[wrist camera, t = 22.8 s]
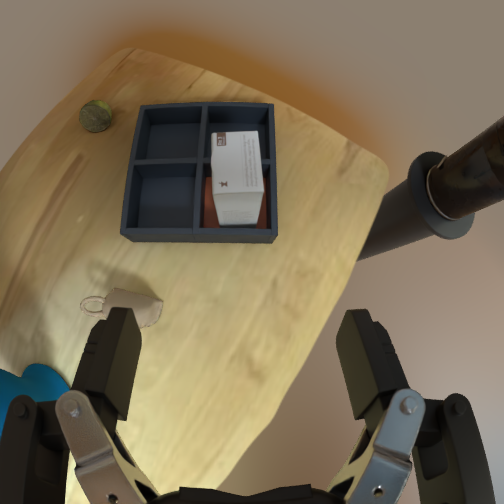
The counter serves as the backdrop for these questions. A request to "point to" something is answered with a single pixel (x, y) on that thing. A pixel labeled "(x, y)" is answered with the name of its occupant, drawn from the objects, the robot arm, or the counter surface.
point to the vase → (30, 387)
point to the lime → (95, 115)
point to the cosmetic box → (237, 178)
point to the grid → (192, 173)
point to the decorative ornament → (127, 305)
